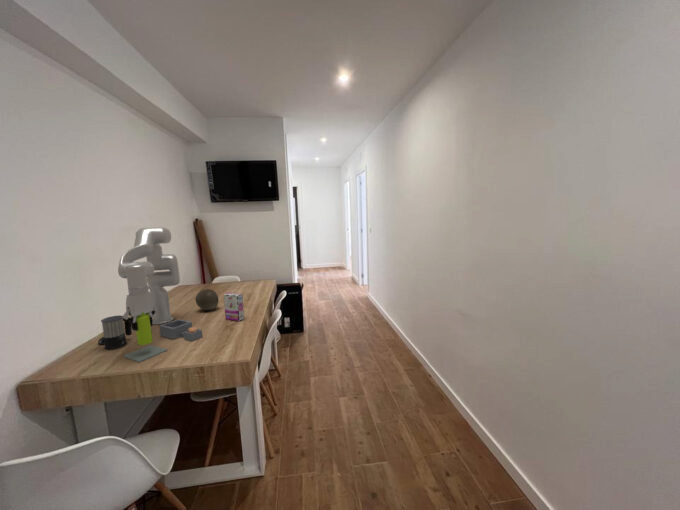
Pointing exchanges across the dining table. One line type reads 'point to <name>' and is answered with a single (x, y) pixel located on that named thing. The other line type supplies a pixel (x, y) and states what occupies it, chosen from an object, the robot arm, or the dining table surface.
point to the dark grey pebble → (207, 299)
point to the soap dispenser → (144, 329)
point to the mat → (145, 353)
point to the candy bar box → (234, 306)
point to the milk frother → (115, 332)
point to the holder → (179, 330)
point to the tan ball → (192, 329)
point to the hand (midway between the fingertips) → (142, 327)
